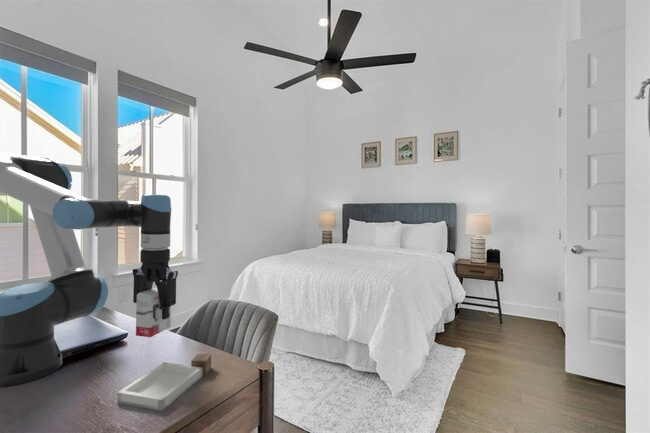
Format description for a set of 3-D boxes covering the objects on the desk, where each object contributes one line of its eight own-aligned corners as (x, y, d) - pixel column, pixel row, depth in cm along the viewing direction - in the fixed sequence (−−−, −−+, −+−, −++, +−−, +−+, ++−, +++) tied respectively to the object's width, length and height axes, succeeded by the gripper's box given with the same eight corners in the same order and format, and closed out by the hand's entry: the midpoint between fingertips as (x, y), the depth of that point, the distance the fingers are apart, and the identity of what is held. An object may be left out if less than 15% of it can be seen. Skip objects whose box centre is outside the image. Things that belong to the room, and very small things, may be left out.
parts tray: (117, 403, 73) (117, 392, 73) (164, 371, 88) (164, 362, 88) (161, 411, 71) (161, 400, 71) (202, 376, 85) (202, 367, 85)
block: (191, 375, 86) (191, 360, 86) (196, 368, 90) (196, 354, 90) (206, 375, 86) (206, 360, 86) (211, 368, 90) (211, 354, 90)
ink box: (150, 338, 87) (151, 295, 86) (134, 336, 88) (135, 294, 87) (171, 326, 95) (172, 287, 95) (157, 325, 96) (158, 286, 96)
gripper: (118, 248, 89) (117, 329, 90) (173, 252, 85) (171, 337, 86) (139, 245, 96) (138, 320, 97) (191, 248, 92) (189, 327, 93)
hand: (154, 328), depth 91 cm, fingers closed on ink box, 5 cm apart
